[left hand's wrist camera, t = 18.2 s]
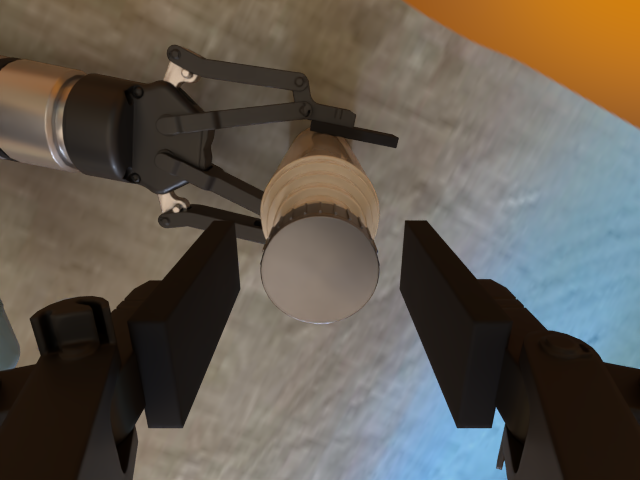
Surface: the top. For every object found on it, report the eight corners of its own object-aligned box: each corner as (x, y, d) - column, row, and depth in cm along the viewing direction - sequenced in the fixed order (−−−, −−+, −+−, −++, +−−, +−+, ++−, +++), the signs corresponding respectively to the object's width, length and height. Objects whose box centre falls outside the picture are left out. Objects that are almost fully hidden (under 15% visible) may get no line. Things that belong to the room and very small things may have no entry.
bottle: (363, 162, 37) (437, 275, 13) (315, 200, 38) (309, 363, 15) (324, 112, 35) (332, 143, 12) (276, 153, 36) (199, 254, 13)
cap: (245, 268, 14) (236, 289, 13) (302, 179, 13) (300, 189, 12) (335, 319, 15) (336, 344, 14) (396, 238, 14) (405, 256, 12)
